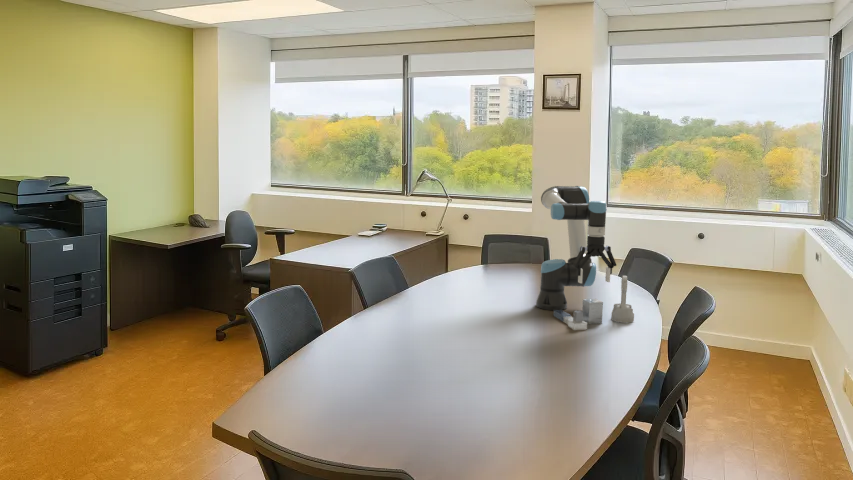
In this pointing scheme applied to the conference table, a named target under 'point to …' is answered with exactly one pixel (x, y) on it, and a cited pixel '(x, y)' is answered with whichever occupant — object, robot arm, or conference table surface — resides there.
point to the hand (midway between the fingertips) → (593, 282)
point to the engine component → (623, 306)
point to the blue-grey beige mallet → (572, 319)
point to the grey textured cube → (592, 311)
